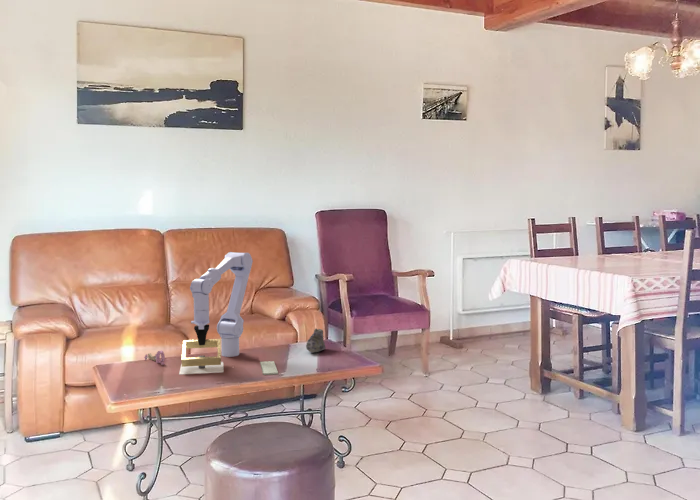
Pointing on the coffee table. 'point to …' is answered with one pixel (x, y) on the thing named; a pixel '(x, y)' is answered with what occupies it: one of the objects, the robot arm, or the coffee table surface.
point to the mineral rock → (316, 341)
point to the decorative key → (156, 357)
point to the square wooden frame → (201, 360)
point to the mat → (268, 368)
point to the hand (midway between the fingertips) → (202, 344)
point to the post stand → (201, 369)
